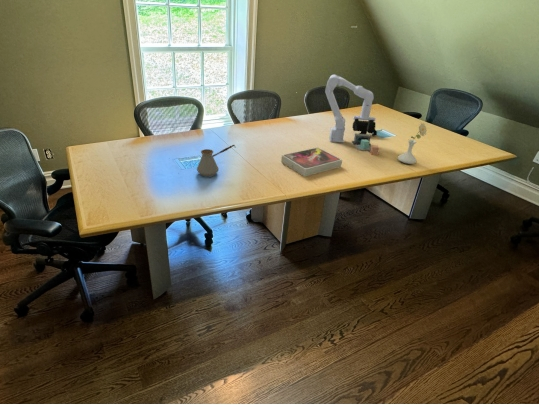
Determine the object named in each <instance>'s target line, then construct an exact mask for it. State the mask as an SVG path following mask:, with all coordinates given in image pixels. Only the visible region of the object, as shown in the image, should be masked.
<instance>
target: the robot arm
mask: <svg viewBox="0 0 539 405" xmlns="http://www.w3.org/2000/svg"><path fill="white" fill-rule="evenodd" d="M342 86H343V87H344V88H345V87H346V88H348V89H349V90H351V91H353V94H354V95H356V96H357V97H359V98H361V99H363V102H362V106H361V111H360V115H353V116H352V119H353V121H355V126H356V129H355V130H357V128H358V123H359V120H360V121H368V126H367V131H368V130H369V128H370V127H371V125H372V124H373V123H374V122H376V120H377V118H376V117H372V116H370V115H371V114H370V113H371V111H372V106H373V101H374V97H375V96H374V92H372V91H371V90H369V89H366V88H365V87H363V85H355V84H353V83H352V82H350V81H349V80H347V79H345V78H344V77H342V76H340V75H337V74H335V73H334V74H331V75H330V77H329V78H328V80H327V83H326V86H325V89H324V90H325V91H324V93H325V96H326V98H327V101H328V104H329V107H330V109H331V111H332V114H333V117H334V121H335V125H334V127H331V128H330V132H329V141H330V142H332V143H345V141H344V135H345V130H346V119H345V117H344V116H343V115H342V113H341V110H340V107H339V105H338V102H337V100H336V97H335V94H334V90H335V89H336V87H342ZM373 121H374V122H373Z"/></svg>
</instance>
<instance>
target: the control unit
mask: <svg viewBox="0 0 539 405" xmlns="http://www.w3.org/2000/svg"><path fill="white" fill-rule="evenodd" d="M371 137H372V135H371V134H370V133H367V134H360V133H355V134H354V138H353V140H351V143H352V145H354V146H355V145H360V144H361V140H365V139H367V140H368V141H370V142H371ZM369 146H370V147H371V146H372V144H371V143H369Z"/></svg>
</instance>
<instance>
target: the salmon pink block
mask: <svg viewBox="0 0 539 405" xmlns="http://www.w3.org/2000/svg"><path fill="white" fill-rule="evenodd" d="M370 147H371V150H370V151H369V153H370V155H371V156H373V155H374V156H378V155H379V151H380V147H379V145H378V144H377V145H376V144H375V145H373V144H371V146H370Z"/></svg>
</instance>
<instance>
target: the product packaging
mask: <svg viewBox="0 0 539 405" xmlns="http://www.w3.org/2000/svg"><path fill="white" fill-rule="evenodd" d="M280 162H281V163H282V164H284V165H285V166H287V167H289V168H290V169H291V170H294V172H296V173H297V174H299V175H301V176H303V177H304V178H305V177H310V176H312V175H315V174H319V173H324V172H327V171H330V170H334V169H339V168H341V167H342V163H343V160H342V159H341V158H340V157H338V156H336V155H334V154H332V153H330V152H329V151H326V150H325V149H323V148H320V147H318V146H317V147H313V148H308V149H304V150H299V151H294V152H290V153H285V154H282V155H281V160H280Z"/></svg>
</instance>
